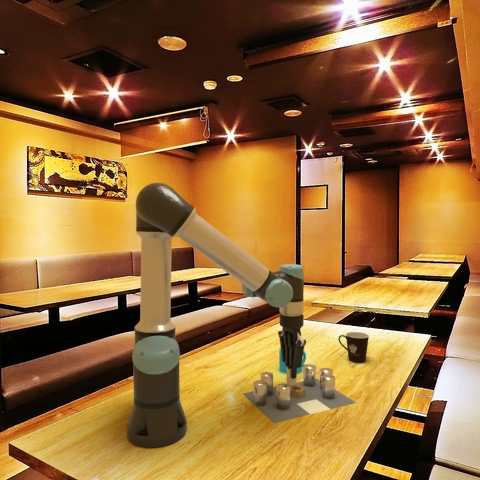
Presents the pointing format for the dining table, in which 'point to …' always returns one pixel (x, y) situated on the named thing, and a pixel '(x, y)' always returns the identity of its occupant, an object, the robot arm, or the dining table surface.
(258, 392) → the spacers
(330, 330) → the dining table surface
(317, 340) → the dining table surface
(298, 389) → the nut
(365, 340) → the coffee mug
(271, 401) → the mat
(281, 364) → the mug
